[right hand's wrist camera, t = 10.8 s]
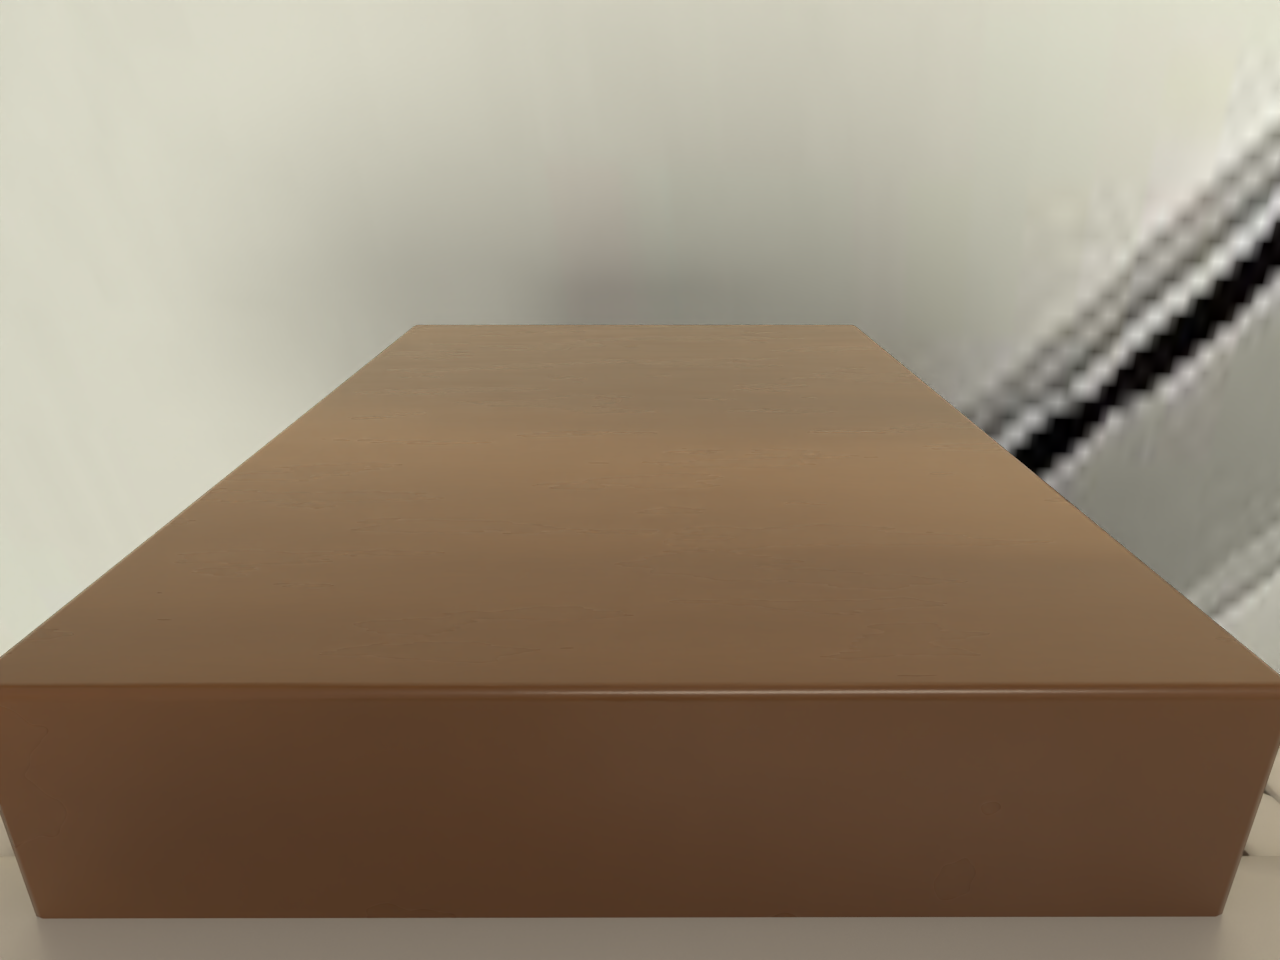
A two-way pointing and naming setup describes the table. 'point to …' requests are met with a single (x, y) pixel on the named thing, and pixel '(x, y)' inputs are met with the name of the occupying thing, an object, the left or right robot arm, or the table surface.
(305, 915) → the box
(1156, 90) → the table surface
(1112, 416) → the table surface
